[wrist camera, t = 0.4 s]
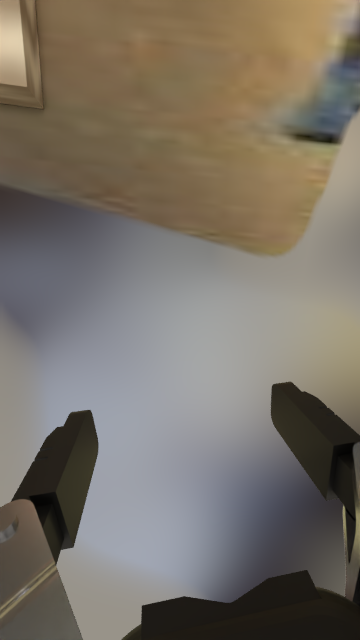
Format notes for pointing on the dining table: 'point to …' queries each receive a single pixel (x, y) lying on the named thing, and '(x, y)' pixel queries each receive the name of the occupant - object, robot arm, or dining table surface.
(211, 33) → the dining table surface
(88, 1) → the dining table surface
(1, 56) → the board
